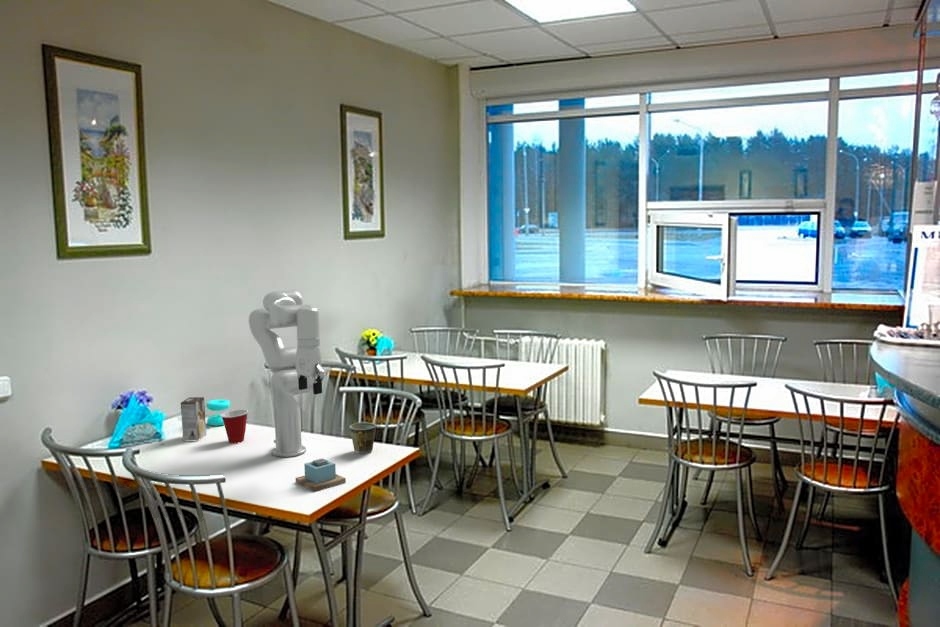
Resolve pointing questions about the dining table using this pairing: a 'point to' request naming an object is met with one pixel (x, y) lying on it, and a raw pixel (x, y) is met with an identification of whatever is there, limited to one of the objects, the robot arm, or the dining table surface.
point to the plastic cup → (235, 424)
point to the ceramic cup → (363, 437)
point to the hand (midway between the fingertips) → (310, 391)
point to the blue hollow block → (320, 472)
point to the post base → (321, 485)
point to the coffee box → (193, 418)
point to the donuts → (217, 406)
